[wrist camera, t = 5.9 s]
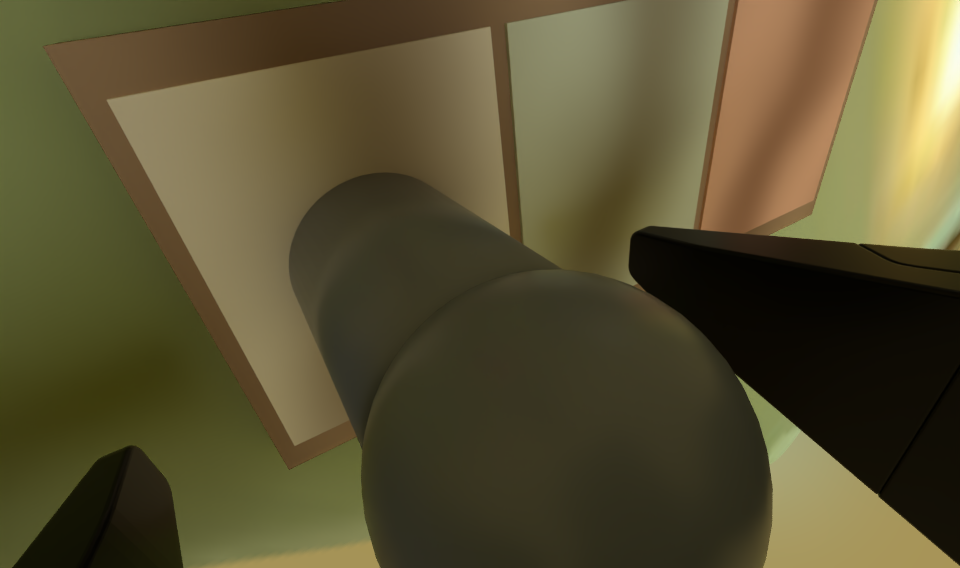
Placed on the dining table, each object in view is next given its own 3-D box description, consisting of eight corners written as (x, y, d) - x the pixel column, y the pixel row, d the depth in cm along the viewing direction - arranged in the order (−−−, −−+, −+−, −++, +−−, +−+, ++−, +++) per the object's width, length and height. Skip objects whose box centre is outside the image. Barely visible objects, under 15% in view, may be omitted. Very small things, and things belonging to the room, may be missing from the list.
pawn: (309, 376, 11) (507, 904, 4) (237, 189, 8) (440, 754, 2) (478, 307, 13) (802, 609, 6) (460, 136, 10) (965, 332, 4)
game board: (282, 443, 13) (289, 472, 12) (58, 42, 7) (40, 46, 6) (788, 206, 20) (813, 214, 20) (866, -78, 15) (906, -84, 14)
